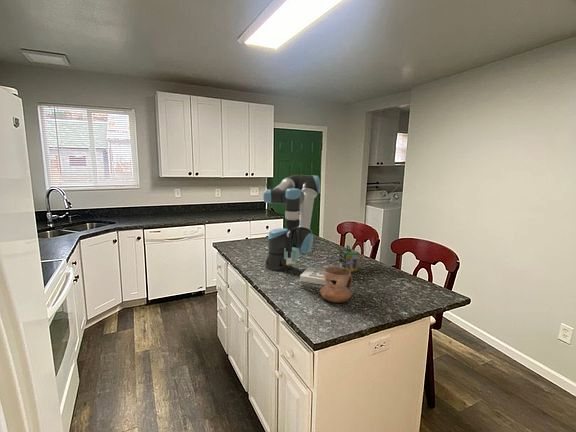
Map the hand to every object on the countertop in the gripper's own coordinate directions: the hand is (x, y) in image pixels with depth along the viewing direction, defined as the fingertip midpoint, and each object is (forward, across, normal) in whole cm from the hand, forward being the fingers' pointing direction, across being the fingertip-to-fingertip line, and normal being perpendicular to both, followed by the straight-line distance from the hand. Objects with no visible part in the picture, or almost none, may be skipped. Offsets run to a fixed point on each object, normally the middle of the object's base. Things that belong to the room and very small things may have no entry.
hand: (291, 261), depth 164 cm
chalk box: (+12, +32, -25) cm, 43 cm away
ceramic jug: (+11, -12, -27) cm, 31 cm away
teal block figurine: (+1, 0, 0) cm, 1 cm away
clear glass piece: (+8, +10, -20) cm, 24 cm away
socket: (+11, +10, -14) cm, 21 cm away
